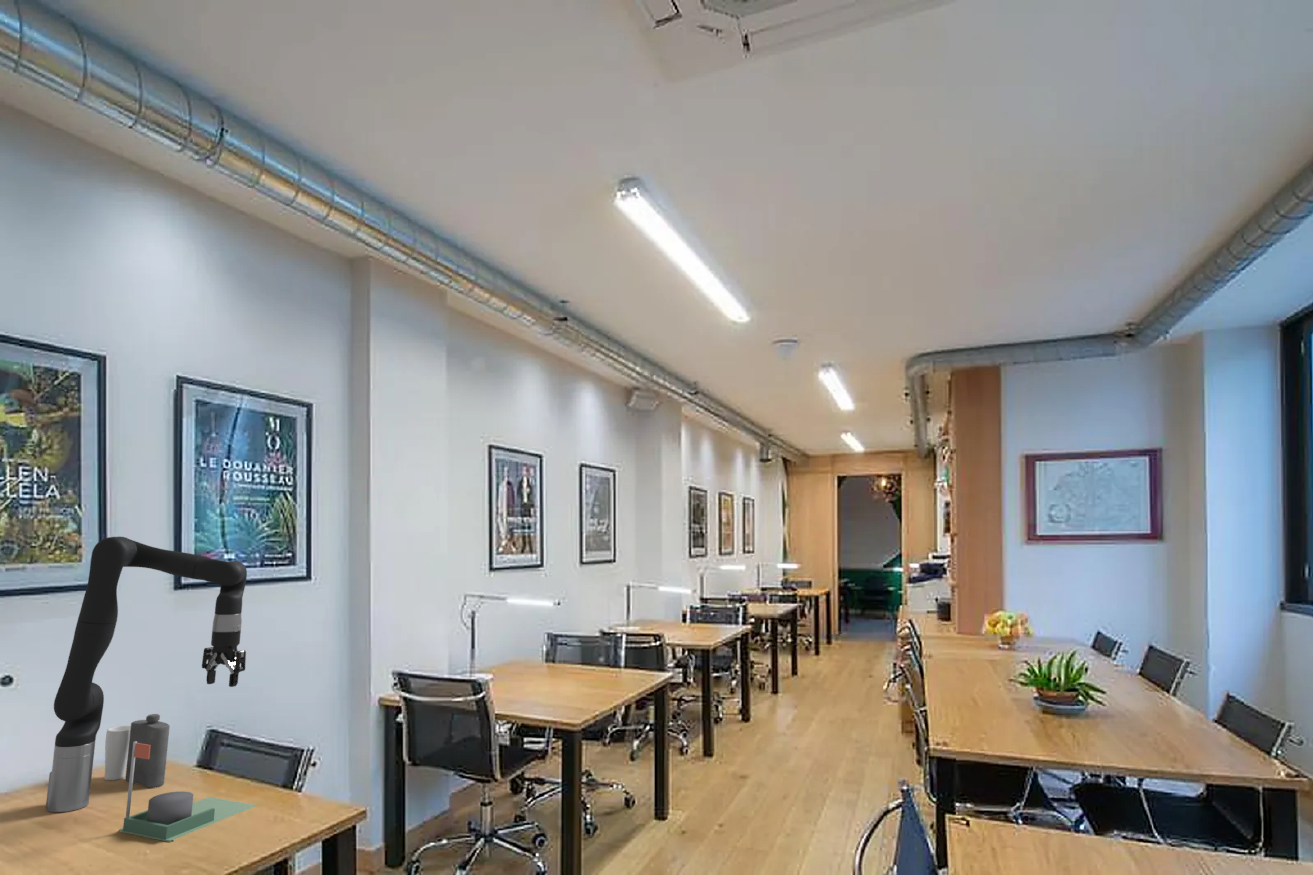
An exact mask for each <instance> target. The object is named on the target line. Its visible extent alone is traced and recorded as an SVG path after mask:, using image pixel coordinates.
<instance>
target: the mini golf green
mask: <svg viewBox="0 0 1313 875" xmlns="http://www.w3.org/2000/svg"><path fill="white" fill-rule="evenodd" d="M150 747H151V745H147V744H141V743H137V741H135V742H133V750H132V760H131V769H130V779H129V782H128V790H127V801H126V808H125V809H126V812H125V817H124V818H123V827H122V828H120V829H118V832H120V833H123V834H124V833H125V834H129V835H133V836H138V837H145V838H147V839H154V840H158V841H164V842H168V843H172V842H174V840H176V839H178V838H180V837H183V836H186V835H188V834H190V833H193V832H195V831H198V830H200V829H203V828H206V827H208V826H210V825H212V824H215V823H217V822H221V821H222V820H225V819H228V818H230V817H233V816H235V815H237V814H240V813H243V812H245V811H247V810H249V809H252V808H255V807H258V805H257V804H252V803H251V804H250V803H246V802H240V801H234V800H229V799H223V798H218V797H217V798H216V797H212V796H207V797H205V798H202V799H200V800H197V801H194V802H193V804H192V815H191V816H190V817H188V818H185V819H182V820H180V821H177V822H174V823H172V824H169V825H165V824H160V823H155V822H150V821H147V815H148V809H147V810H144V811H141V812H138V813H136V814H133V815H131V814H130V813H131V803H132V795H133V784H134V783H133V776H134V766H135V757H137V758H143V759H149V757H150Z"/></svg>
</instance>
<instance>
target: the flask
mask: <svg viewBox="0 0 1313 875" xmlns="http://www.w3.org/2000/svg"><path fill="white" fill-rule="evenodd" d="M160 718H161V715H160V714H159V713H151V714H148V715H147V716H146V719H138V720H134V721H132V722H131V723H130V726H131V729H130V739H129V749H128V759H127V766H126V773H125V777H124V779H125V782H126V783H129V779H130V769H131V760H132V750H133V742H135V741H137V743H141V744H147V745H151V747H150V757H149V759H143V758H137V757H135V766H134V776H133V784H136V783H137V785H139V786H143V787H145V788H146V787H148V788H147V789H153V788H152V787H156V788H160V787H162V786H163V785H164V784H165V779H166V778H165V776H166V769H167V768H166V766H167V757H168V756H167V755H168V748H169V747H168V746H169V745H168V744H169V735H170V724H168V723H167V722H163V721H160Z"/></svg>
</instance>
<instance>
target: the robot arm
mask: <svg viewBox="0 0 1313 875" xmlns="http://www.w3.org/2000/svg"><path fill="white" fill-rule="evenodd" d="M125 567H126V568H144V569H152V570H155V571H158V572H163V573H165V574H167V575H168V574H169V575H173V576H176V577H181V578H186V579H192V580H199V581H200V580H201V581H205V582H208V583H212V584H215V585H220V588H219V589H220V590H219V594H218V595H217V597H216V600H215V606H214V617H213V621H212V630H211V641H210V645H211V646H210V647H204V649H203V654H202V662H201V668H202V669H205V671H206V684H207V685H212V684H215V683H216V675H217V674H216V673H217V670H216V669H217V668H218V667H219V665H224V666H225V667H226V668H227V669H228V670H229V672H230V673H229V680H228V687H230V688H233V687H236V686H237V685H238V683H239V674H240V673H241V672H245V671H246V662H247V661H246V659H247V656H246V655H247V652H246V649H243V650H238V645H240V643H241V633H242V622H243V621H242V611H243V597H244V592H245V588H246V583H247V577H248V576H247V575H248V574H247V573H248V571H247V568H246V566H245V564H244V563H242V562H241V561H237V560H235V561H225V560H219V559H212V558H211V557H208V556H205V555H200V554H193V553H189V552H182V551H175V550H171V549H169V550H168V549H164V548H159V547H154V546H151V545H147V544H144V543H142V542H139V541H136V540H133V539H129V538H128V537H125V536H111V537H110V536H109V537H108V536H107V537H105V538H103V539H101V540H99V541H98V542H97V543H96V544H95V546H94V547H93V549H92V552H91V557H90V565H89V573H88V578H87V579H88V582H87V584H86V585H87V586H86V590H85V593H84V595H83V601H82V603H81V607H80V611H79V613H78V614H79V615H78V618H77V622H76V625H75V629H74V633H73V639H72V643H71V646H70V651H69V655H68V659H67V664H66V666H65V670H64V673H63V676H62V679H61V681H60V684H59V688H58V690H57V692H56V694H55V698H54V702H53V711H54V713H55V715H56V718H58V720H61V721H63V722H64V723H63V725H62V728H61V729H60V730H59V732H58V733H57V734H56V736H55V740H54V749H53V750H54V751H53V759H52V766H51V767H52V768H51V771H50V772H49V775H48V776H49V777H48V783H47V792H46V802H45V809H47V811H48V812H51V813H66V812H71V811H76V810H79V809H83V808H85V807H87V806H88V805H89V803H90V793H91V785H92V778H93V777H92V775H93V767H94V766H93V765H94V757H95V749H96V748H95V747H96V738H97V734H98V732H99V730H100V727H101V722H102V716H103V709H104V702H105V699H104V698H105V697H104V691H103V689H102V687H100V685H99V684H97V683H95V682H93V679H94V676H95V672H96V669H97V667H98V665H99V663H100V661H101V660H102V658H103V656H104V655H105V653H106V652H107V650H108V648H109V647H110V644H111V642H112V640H113V637H114V635H115V631H116V626H117V623H118V616H119V614H118V613H119V605H118V604H119V603H118V596H117V595H118V592H117V591H118V590H117V589H118V584H119V579H120V577H121V574H122V571H123V568H125Z"/></svg>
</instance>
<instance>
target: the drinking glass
mask: <svg viewBox="0 0 1313 875" xmlns="http://www.w3.org/2000/svg"><path fill="white" fill-rule="evenodd" d="M130 729H131V725H118V726H113V727H110V728H108V729H106V734H105V740H104V741H105V743H104V744H105V745H104V750H105V751H104V752H105V753H104V758H105V760H104V776H103V777H104V780H105V781H109V780H112V781H118V779H119V780H122V779H124V778H126V768H127V759H128V749H129V739H130Z"/></svg>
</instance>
